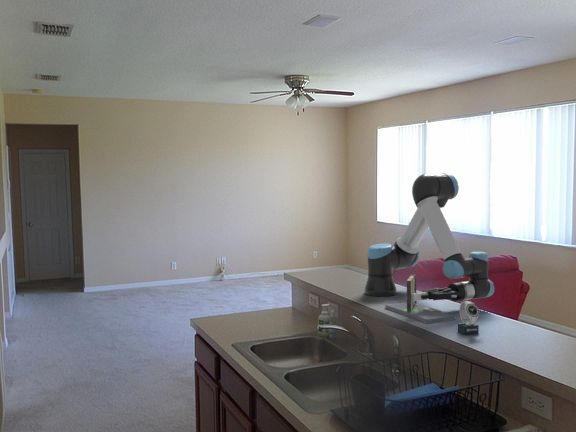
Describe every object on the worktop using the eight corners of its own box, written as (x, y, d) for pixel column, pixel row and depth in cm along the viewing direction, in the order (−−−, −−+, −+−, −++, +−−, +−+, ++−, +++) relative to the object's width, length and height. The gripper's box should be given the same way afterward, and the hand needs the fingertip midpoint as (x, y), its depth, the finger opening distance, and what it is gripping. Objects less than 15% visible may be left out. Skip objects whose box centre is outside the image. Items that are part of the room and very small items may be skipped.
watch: (467, 336, 185) (467, 305, 185) (454, 330, 193) (454, 300, 192) (482, 335, 187) (482, 303, 186) (469, 329, 194) (469, 299, 194)
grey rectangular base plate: (385, 308, 229) (385, 304, 229) (411, 304, 234) (411, 301, 234) (426, 323, 203) (426, 319, 203) (454, 319, 209) (454, 315, 208)
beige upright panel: (410, 302, 230) (410, 274, 230) (416, 302, 229) (416, 274, 229) (405, 310, 216) (405, 280, 215) (412, 311, 215) (412, 281, 214)
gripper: (471, 303, 218) (423, 310, 209) (449, 297, 231) (403, 303, 222) (471, 285, 218) (423, 290, 209) (449, 279, 230) (402, 285, 221)
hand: (412, 297), depth 215 cm, fingers closed
